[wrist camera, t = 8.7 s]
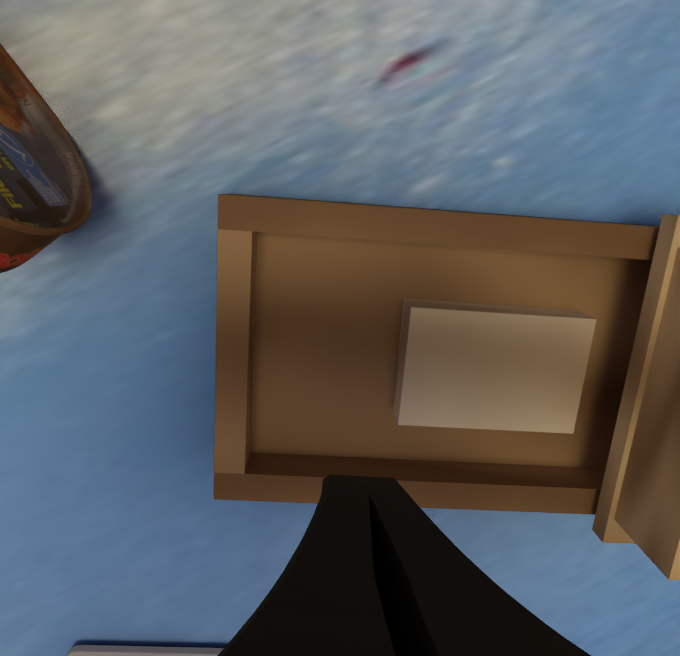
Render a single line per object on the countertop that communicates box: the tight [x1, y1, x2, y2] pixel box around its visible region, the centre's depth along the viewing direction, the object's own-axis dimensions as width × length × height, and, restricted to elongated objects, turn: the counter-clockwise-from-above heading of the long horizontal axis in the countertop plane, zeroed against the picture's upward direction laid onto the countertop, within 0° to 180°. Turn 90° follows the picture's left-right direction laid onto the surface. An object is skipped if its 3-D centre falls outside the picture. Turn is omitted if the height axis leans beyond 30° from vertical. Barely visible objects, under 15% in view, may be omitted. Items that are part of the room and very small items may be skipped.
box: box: [214, 194, 660, 514], centre depth 18 cm, size 10×16×2 cm, turn 86°
